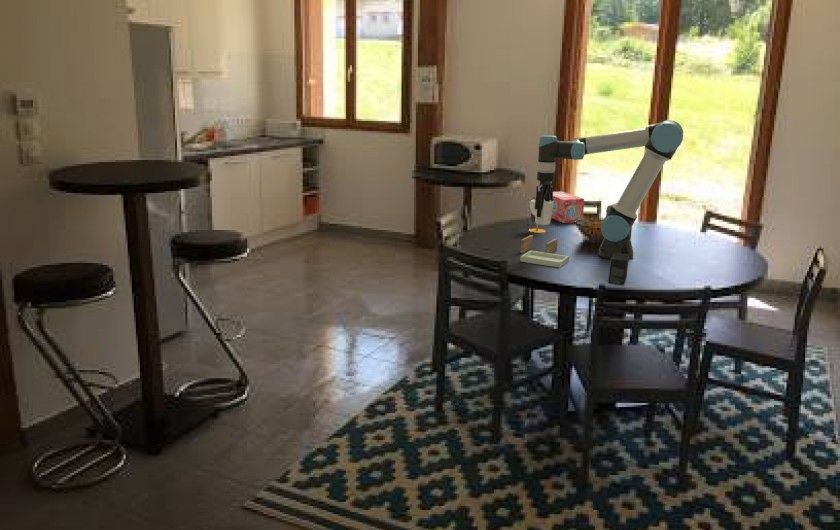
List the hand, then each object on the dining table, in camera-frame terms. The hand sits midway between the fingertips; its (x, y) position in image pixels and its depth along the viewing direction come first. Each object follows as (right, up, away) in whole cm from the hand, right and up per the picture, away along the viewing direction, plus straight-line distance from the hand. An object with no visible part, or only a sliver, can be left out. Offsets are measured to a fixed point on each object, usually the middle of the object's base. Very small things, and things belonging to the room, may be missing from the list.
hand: (542, 222), depth 304 cm
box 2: (+24, -26, -33) cm, 48 cm away
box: (+26, +7, +83) cm, 87 cm away
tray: (0, -17, -6) cm, 18 cm away
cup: (+6, -2, +51) cm, 51 cm away
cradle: (0, -13, +10) cm, 16 cm away
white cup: (0, 0, 0) cm, 1 cm away
